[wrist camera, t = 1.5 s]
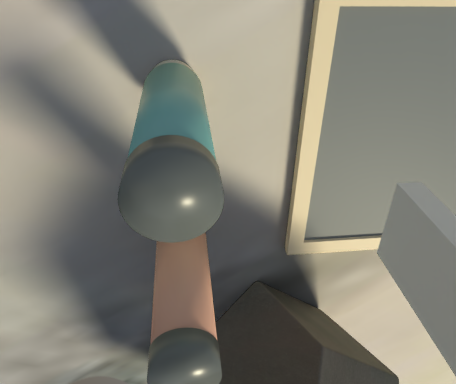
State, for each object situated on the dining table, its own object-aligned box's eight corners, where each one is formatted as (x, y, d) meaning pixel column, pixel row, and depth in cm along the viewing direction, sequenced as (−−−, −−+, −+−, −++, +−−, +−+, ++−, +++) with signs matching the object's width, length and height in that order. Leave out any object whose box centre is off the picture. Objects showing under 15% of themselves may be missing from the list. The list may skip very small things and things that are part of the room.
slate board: (284, 247, 32) (287, 255, 31) (317, -20, 22) (322, -19, 21) (458, 236, 34) (465, 243, 33) (566, -18, 23) (579, -17, 23)
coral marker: (159, 236, 30) (150, 403, 19) (155, 198, 28) (143, 359, 17) (204, 233, 30) (221, 395, 19) (204, 196, 28) (222, 351, 18)
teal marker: (147, 112, 25) (124, 245, 14) (141, 55, 23) (110, 156, 12) (202, 111, 25) (223, 239, 14) (201, 54, 23) (224, 152, 12)
